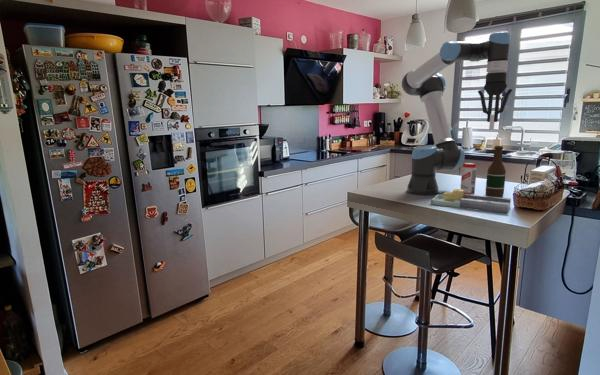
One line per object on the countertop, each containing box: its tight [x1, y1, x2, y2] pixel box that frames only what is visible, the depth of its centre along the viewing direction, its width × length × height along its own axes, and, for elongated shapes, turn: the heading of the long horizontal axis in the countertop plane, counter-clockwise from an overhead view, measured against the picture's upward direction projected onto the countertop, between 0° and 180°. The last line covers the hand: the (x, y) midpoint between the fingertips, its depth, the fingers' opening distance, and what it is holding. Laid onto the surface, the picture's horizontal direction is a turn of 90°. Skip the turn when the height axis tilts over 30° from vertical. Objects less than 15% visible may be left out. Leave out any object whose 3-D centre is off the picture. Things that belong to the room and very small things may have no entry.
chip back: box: [443, 191, 455, 202], centre depth 163 cm, size 4×4×4 cm
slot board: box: [460, 194, 512, 214], centre depth 155 cm, size 18×11×4 cm, turn 56°
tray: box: [430, 193, 461, 209], centre depth 163 cm, size 12×12×2 cm
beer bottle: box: [484, 145, 507, 198], centre depth 169 cm, size 8×8×24 cm
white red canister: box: [460, 161, 477, 195], centre depth 172 cm, size 6×6×16 cm
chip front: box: [452, 188, 464, 200], centre depth 160 cm, size 4×4×4 cm
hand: (491, 129), depth 155 cm, fingers closed
